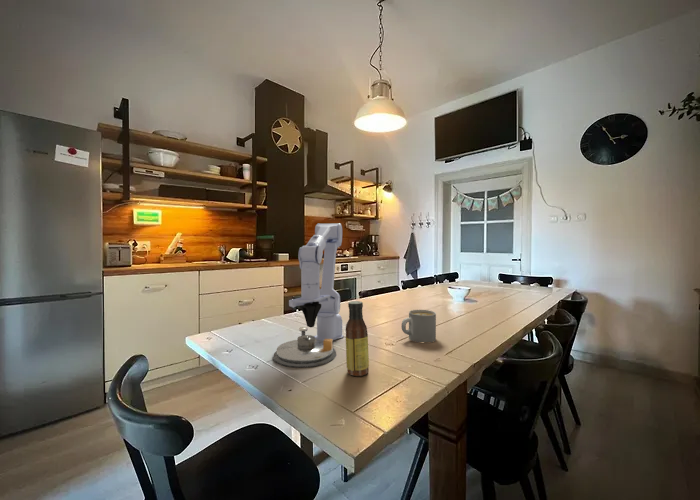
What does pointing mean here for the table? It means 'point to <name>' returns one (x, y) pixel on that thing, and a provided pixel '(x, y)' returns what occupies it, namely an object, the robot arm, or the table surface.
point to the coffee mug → (420, 325)
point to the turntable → (294, 355)
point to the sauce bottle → (356, 341)
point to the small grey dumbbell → (303, 330)
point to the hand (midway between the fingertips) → (310, 326)
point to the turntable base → (303, 365)
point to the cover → (306, 342)
